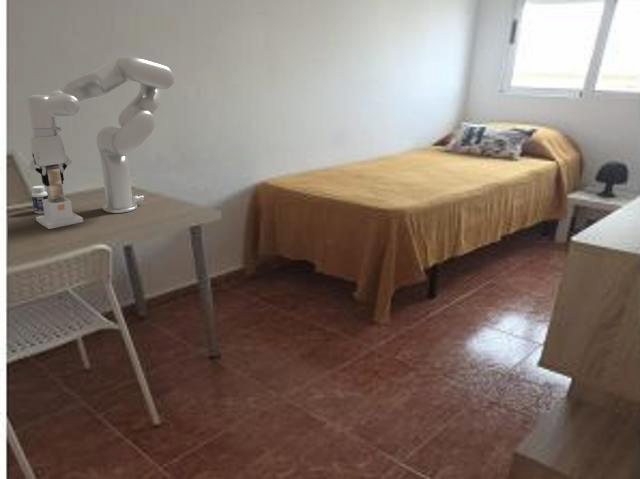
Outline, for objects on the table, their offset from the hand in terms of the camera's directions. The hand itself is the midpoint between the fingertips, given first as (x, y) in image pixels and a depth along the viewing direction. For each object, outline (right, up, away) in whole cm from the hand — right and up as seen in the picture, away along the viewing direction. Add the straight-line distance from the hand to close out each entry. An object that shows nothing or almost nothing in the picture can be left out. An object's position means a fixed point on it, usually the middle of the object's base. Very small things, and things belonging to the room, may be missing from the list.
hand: (53, 183), depth 188 cm
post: (0, -7, +3) cm, 8 cm away
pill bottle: (-12, -9, +15) cm, 21 cm away
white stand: (0, -13, +5) cm, 14 cm away
